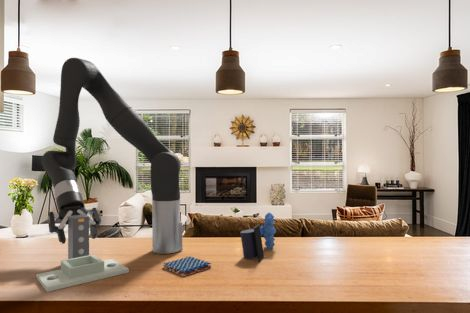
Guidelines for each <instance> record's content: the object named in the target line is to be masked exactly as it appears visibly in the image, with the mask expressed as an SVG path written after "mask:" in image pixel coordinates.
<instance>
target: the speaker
mask: <svg viewBox="0 0 470 313" xmlns="http://www.w3.org/2000/svg"><path fill="white" fill-rule="evenodd" d="M240 239H241V246H242V253H243V258H244V259H247V260H249V259H251V260H252V259H256V258H257V259H258V263H261V262H262V260H263V259H264V258H265V254H264V246H263V240H262V235H261V232H260V224H257V225H255V226H254V227H253V228H248V229H244V230H242V231H240Z"/></svg>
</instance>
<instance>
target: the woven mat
mask: <svg viewBox="0 0 470 313" xmlns="http://www.w3.org/2000/svg"><path fill="white" fill-rule="evenodd" d="M211 264H212V262H209V261H205V260H203V259H199V258H196V257H195V256H194V257H193V256H191V255H190V256H186V257H182V258H180V259H179V258H178V259H176V260H175V259H173V260H172V261H168V262H164V263H163V265H162V266H163V268H164V269H163V270H168V271H169V272H172V273H174V274H176V275H178V276H181V277H186V276H190V275H192V274H195V273H198V272H202V271H205V270H207V269H211V268H212V265H211ZM204 269H205V270H204ZM175 271H176V272H175Z"/></svg>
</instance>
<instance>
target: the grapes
mask: <svg viewBox="0 0 470 313" xmlns="http://www.w3.org/2000/svg"><path fill="white" fill-rule="evenodd" d="M274 218H275V216H274V215H273V214H272V213H271V212H267V213H266V214H265V215H264V223H263V225H261V226H260V232H261V236H263V238H264V240H265V241H264V245H265V247H266V248H267V249H268V250H272V249H273V248H274V247H275V245H276V244H275V242H274V241H275V234H276V232H277V229H276V228H275V227H274V223H275V219H274Z"/></svg>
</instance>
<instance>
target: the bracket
mask: <svg viewBox="0 0 470 313" xmlns="http://www.w3.org/2000/svg"><path fill="white" fill-rule="evenodd" d="M129 271H130V270H129V268H128V267H126V266H125V265H123V264H122V263H120V262H118V261H117V260H115V259H114V258H109V259H105V260H103V259H102V258H101V259H100V258H99V257H98V256H96V255H95V254H89V255H88V256H83V257H77V258H72V259H68V258H67V259H63V260H60V269H56V270H50V271H46V272H41V273H40V272H39V273H36V279H37V280H38V282H39V283H40V285H41V286H42V287H43V289H44V290H45V292H46V293H48V292H51V291H57V290H61V289H66V288H69V287H74V286H78V285H81V284H86V283H90V282H94V281H99V280H103V279H107V278H111V277H115V276H119V275H120V276H121V275H123V274H127V273H130V272H129Z"/></svg>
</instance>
